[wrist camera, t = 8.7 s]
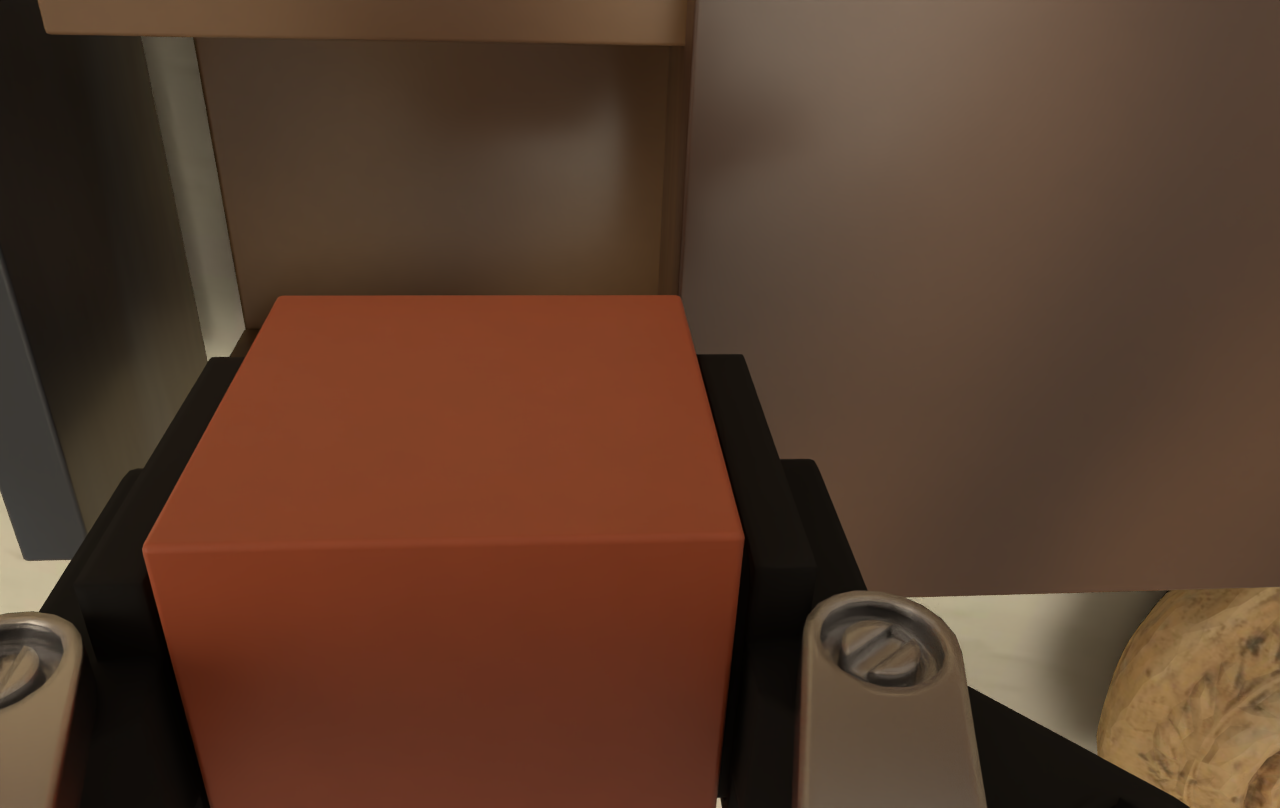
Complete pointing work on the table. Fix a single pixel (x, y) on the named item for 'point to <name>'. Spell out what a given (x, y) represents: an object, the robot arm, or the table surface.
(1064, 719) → the table surface
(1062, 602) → the table surface
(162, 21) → the drawer
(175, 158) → the table surface
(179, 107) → the table surface
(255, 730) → the block
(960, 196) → the cabinet
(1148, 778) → the oil lamp
